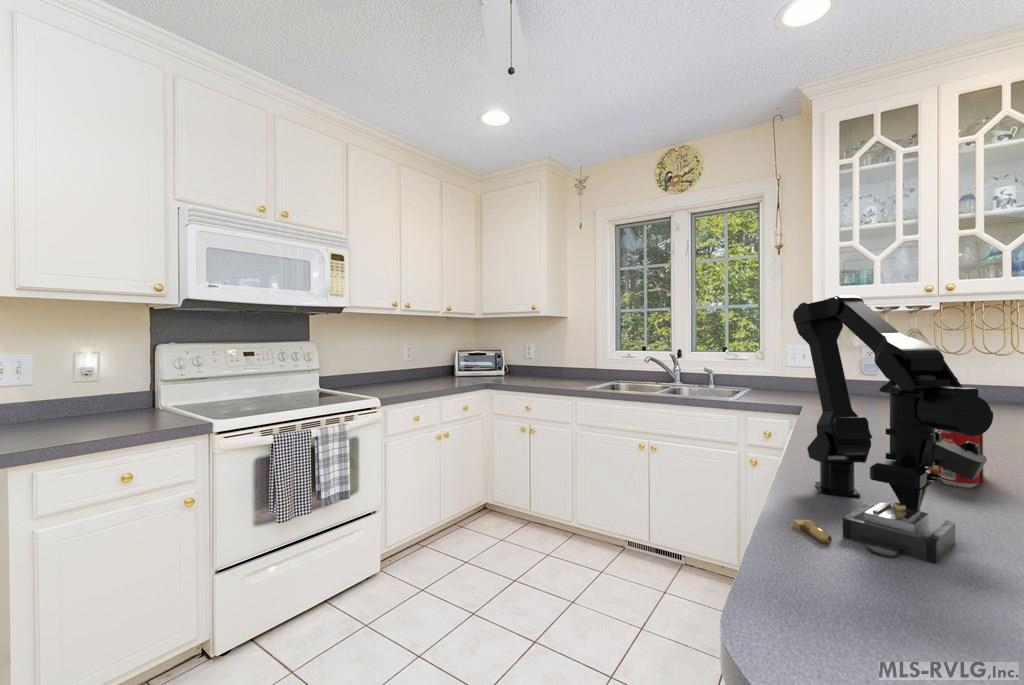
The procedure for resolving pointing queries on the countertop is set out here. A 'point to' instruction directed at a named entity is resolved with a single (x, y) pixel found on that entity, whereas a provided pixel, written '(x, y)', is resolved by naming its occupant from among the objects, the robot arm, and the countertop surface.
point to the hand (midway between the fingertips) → (912, 517)
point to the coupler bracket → (898, 538)
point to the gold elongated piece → (812, 530)
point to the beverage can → (950, 476)
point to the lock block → (899, 518)
